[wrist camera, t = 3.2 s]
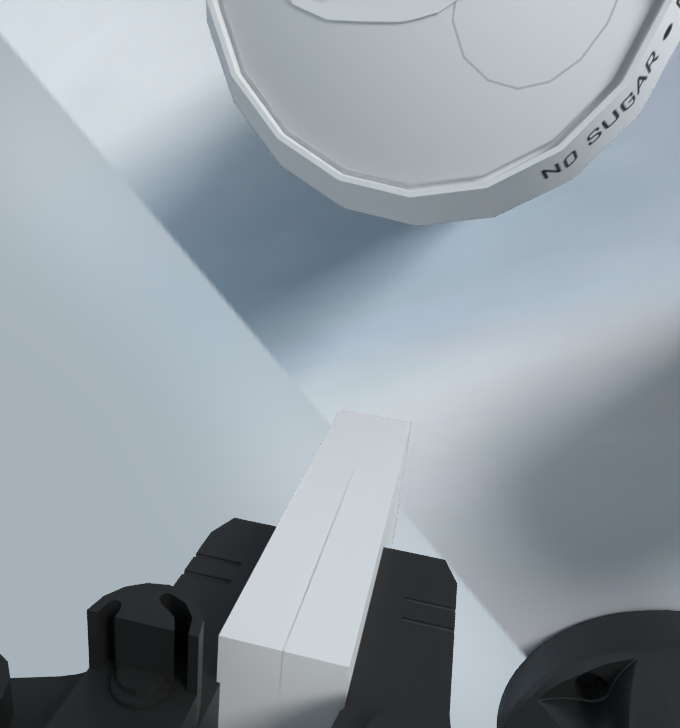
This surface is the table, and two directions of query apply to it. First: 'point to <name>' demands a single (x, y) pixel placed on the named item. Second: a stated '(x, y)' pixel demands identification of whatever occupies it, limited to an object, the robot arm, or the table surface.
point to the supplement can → (440, 93)
